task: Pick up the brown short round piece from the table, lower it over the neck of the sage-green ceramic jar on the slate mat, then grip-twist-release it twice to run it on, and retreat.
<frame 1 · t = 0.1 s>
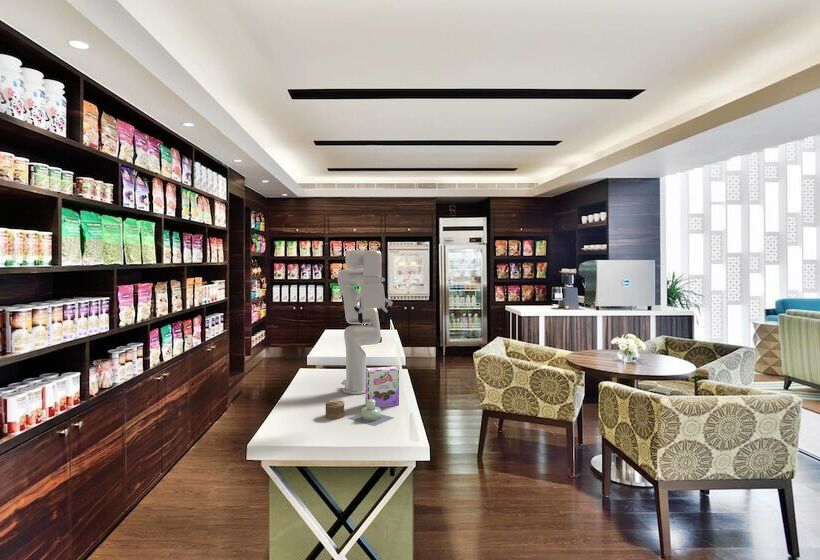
hand: (372, 322, 191), 37 cm above the table, tool pointing down, fingers open, 9 cm apart
brown short round piece: (334, 417, 185), on the table
jar: (371, 418, 183), resting on mat
candy box: (382, 406, 201), on the table
mat: (371, 419, 183), on the table
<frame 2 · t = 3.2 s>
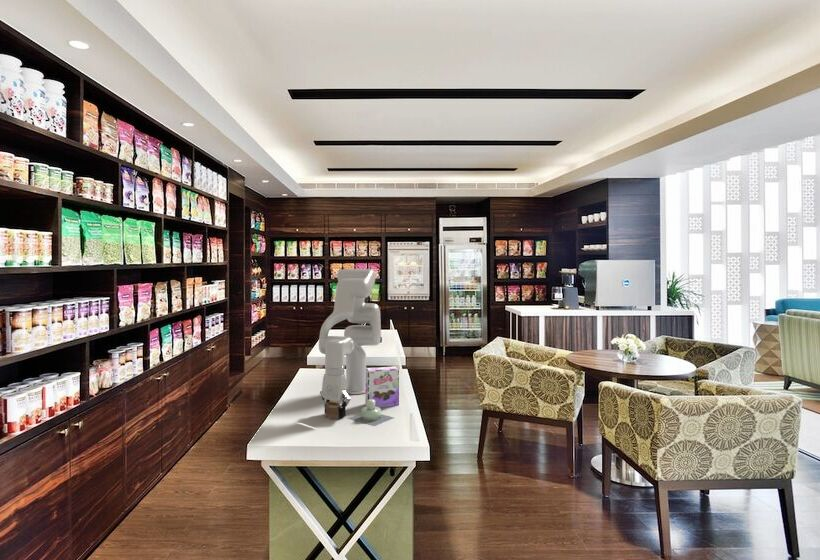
hand: (334, 414, 185), 1 cm above the table, tool pointing down, fingers closed on brown short round piece, 7 cm apart
brown short round piece: (335, 417, 185), on the table, touching gripper
everything else where it was.
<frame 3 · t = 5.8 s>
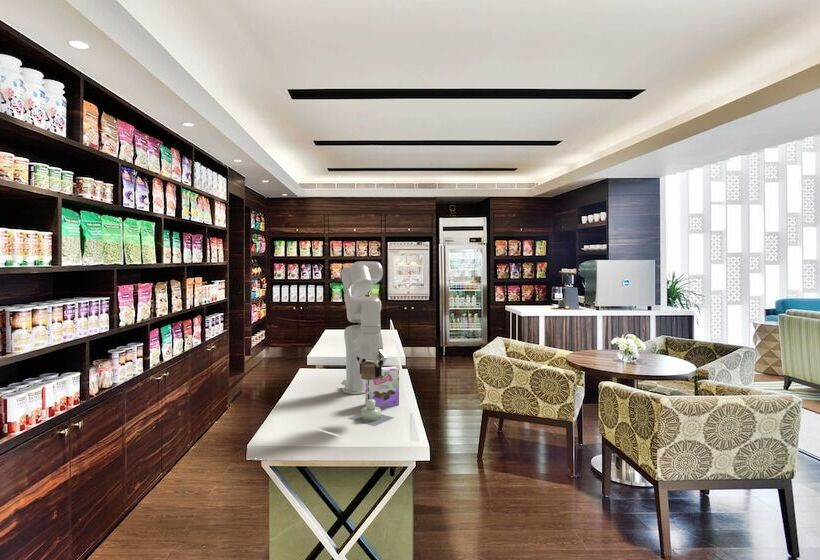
hand: (370, 374, 182), 18 cm above the table, tool pointing down, fingers closed on brown short round piece, 7 cm apart
brown short round piece: (370, 377, 182), point 17 cm above the table, touching gripper
everything else where it was.
when the fingers open (7 cm above the table, at t = 8.4 s): brown short round piece drops 1 cm, resting on jar.
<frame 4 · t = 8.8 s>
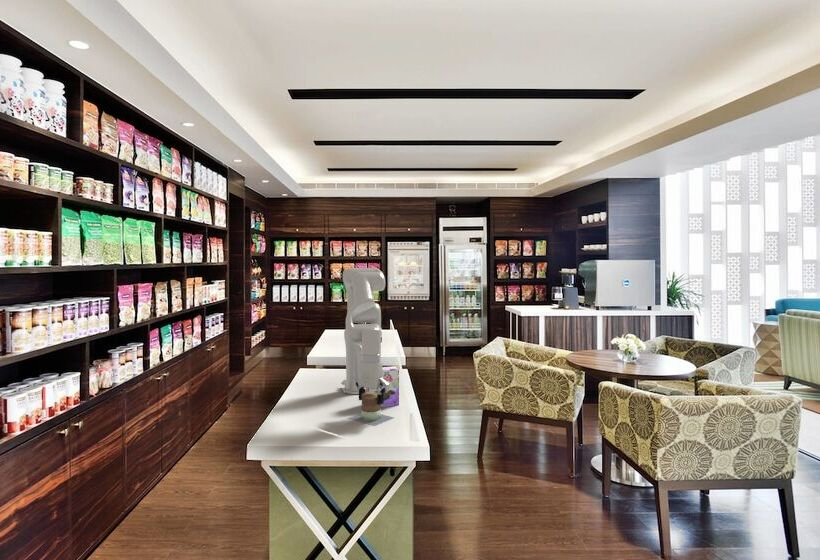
hand: (371, 401, 183), 7 cm above the table, tool pointing down, fingers open, 9 cm apart
brown short round piece: (371, 409, 183), point 4 cm above the table, touching jar
everything else where it was.
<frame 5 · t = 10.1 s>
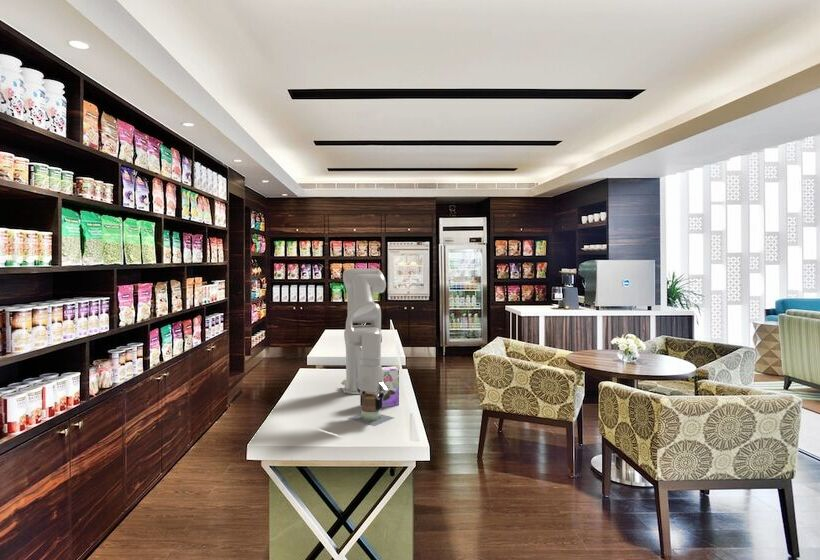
hand: (371, 406, 183), 5 cm above the table, tool pointing down, fingers closed on brown short round piece, 7 cm apart
brown short round piece: (371, 409, 183), point 4 cm above the table, touching gripper, jar
everything else where it was.
when the fingers open (6 cm above the table, at t = 14.3 s): brown short round piece drops 1 cm, resting on jar.
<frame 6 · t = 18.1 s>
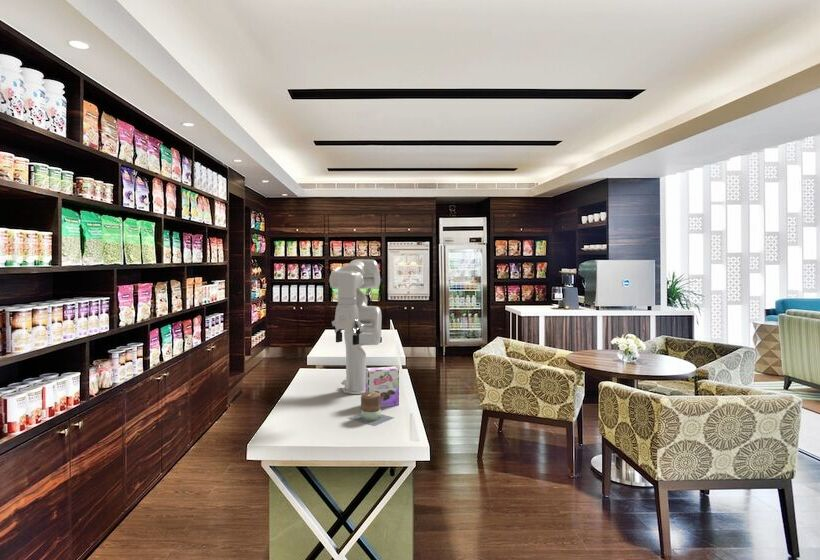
hand: (347, 343, 193), 28 cm above the table, tool pointing down, fingers open, 9 cm apart
brown short round piece: (370, 409, 183), point 4 cm above the table, touching jar
everything else where it was.
at the end: brown short round piece 0.1 cm off-centre on the jar, point 3.5 cm above the jar's base; brown short round piece tilted 0°; the gripper is holding nothing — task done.
